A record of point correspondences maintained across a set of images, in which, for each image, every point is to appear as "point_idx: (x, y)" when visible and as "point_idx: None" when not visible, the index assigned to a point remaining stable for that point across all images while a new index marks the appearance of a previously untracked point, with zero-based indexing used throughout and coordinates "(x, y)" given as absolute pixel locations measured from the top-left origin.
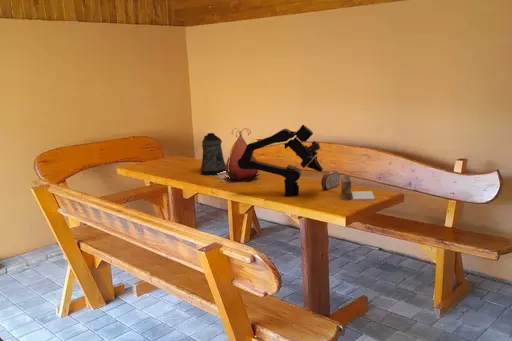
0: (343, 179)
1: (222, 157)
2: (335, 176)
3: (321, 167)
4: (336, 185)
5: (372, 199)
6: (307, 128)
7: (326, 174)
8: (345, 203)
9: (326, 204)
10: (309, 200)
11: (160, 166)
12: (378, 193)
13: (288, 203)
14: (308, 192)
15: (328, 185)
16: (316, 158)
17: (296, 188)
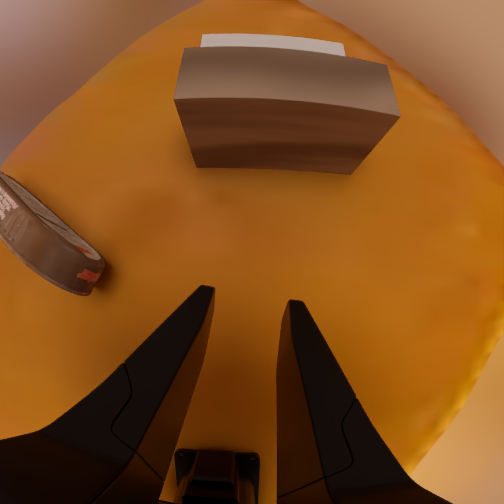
0: (326, 93)
1: None
2: (8, 183)
3: (198, 309)
4: (35, 197)
5: (343, 52)
6: None
7: (28, 242)
8: (416, 171)
9: (438, 271)
10: (361, 376)
11: None
12: (225, 22)
13: None
14: None
15: (79, 243)
16: (99, 498)
17: (238, 481)
